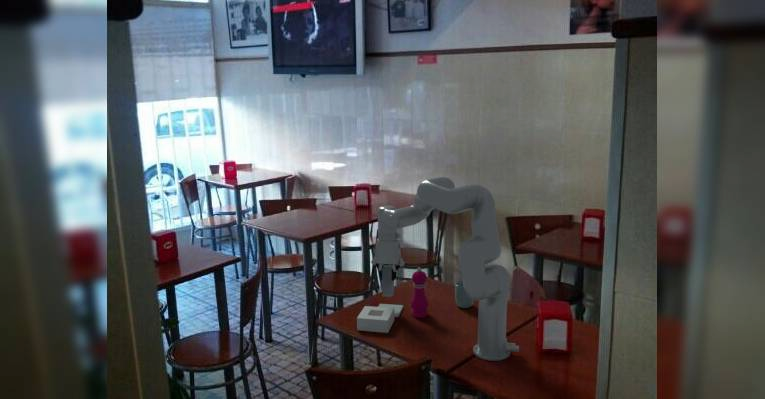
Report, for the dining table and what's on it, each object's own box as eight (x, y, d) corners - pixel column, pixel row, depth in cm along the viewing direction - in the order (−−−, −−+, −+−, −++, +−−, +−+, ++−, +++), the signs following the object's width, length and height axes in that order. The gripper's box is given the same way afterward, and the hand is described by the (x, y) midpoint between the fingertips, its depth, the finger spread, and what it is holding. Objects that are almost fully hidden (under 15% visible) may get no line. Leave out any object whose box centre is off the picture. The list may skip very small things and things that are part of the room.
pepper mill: (428, 311, 238) (428, 264, 234) (428, 318, 231) (428, 270, 227) (411, 310, 239) (410, 264, 235) (410, 318, 232) (409, 270, 228)
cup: (451, 304, 244) (451, 282, 242) (467, 301, 248) (467, 279, 245) (461, 311, 237) (461, 288, 235) (477, 307, 241) (477, 285, 239)
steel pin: (394, 293, 239) (393, 265, 236) (392, 297, 235) (391, 269, 233) (384, 292, 240) (384, 265, 237) (382, 296, 236) (382, 268, 233)
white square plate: (403, 307, 242) (403, 305, 242) (398, 317, 233) (398, 314, 233) (379, 305, 245) (379, 303, 244) (374, 315, 235) (374, 312, 235)
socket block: (394, 319, 230) (394, 308, 229) (387, 332, 219) (387, 320, 218) (365, 317, 233) (364, 306, 232) (357, 330, 221) (356, 318, 220)
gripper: (409, 234, 234) (409, 277, 238) (369, 232, 238) (370, 275, 241) (406, 240, 227) (406, 284, 231) (364, 237, 230) (365, 281, 234)
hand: (388, 279), depth 236 cm, fingers closed on steel pin, 4 cm apart
